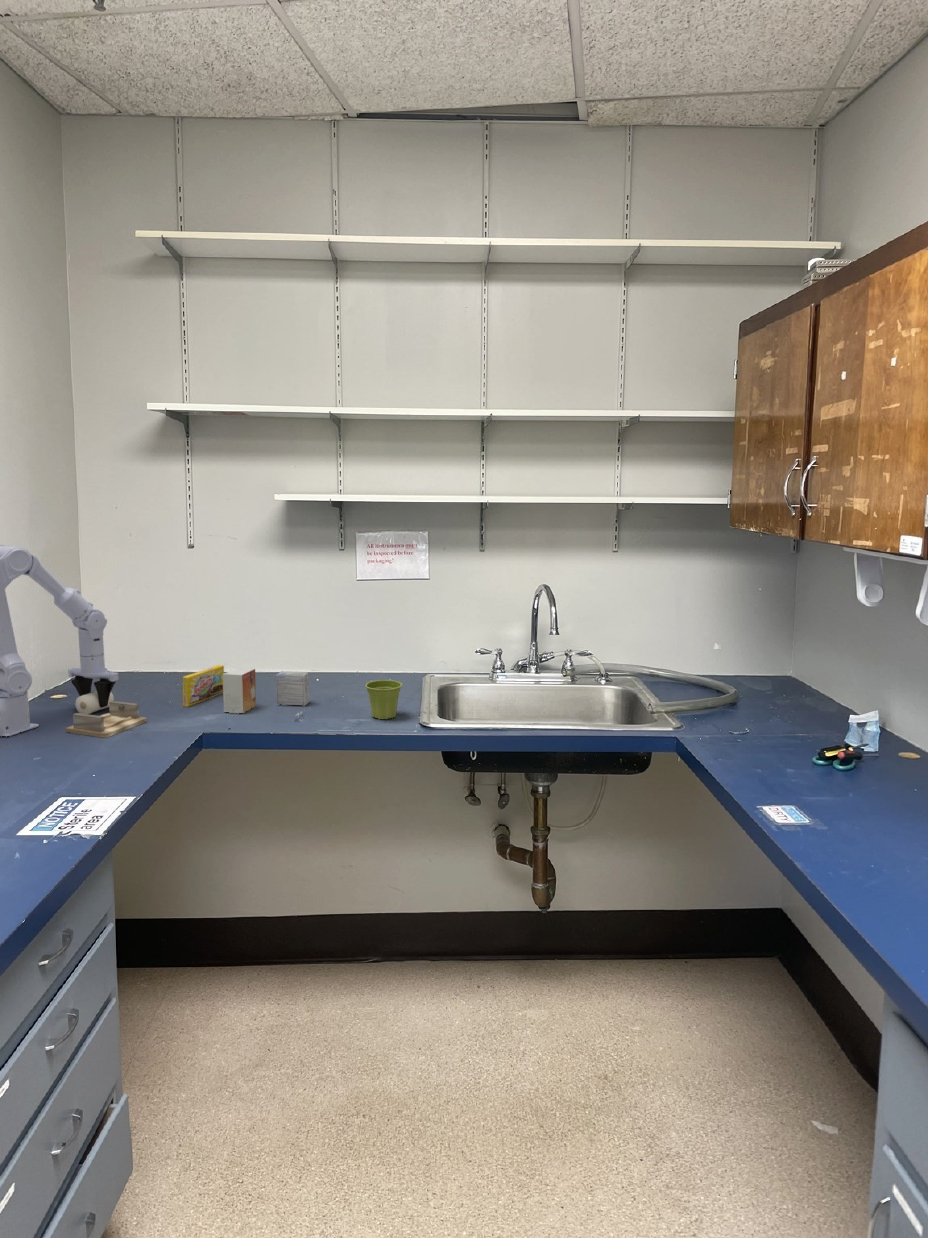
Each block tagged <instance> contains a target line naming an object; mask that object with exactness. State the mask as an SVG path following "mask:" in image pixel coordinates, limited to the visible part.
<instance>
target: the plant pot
mask: <svg viewBox="0 0 928 1238" xmlns="http://www.w3.org/2000/svg"><path fill="white" fill-rule="evenodd" d="M402 687H403V683H402V682H400V681H396V680H391V679H380V680H373V681H368V682H366V684H365V688H366V690H367V693H368V699H369V704H370V711H371V716H373V717H372V718H374V717H375V718H378V719H377V720H380V719H386V720H388V719H391V718H392V719H394V718H396V716H397V709H398V702H399V695H400V692H401V688H402ZM393 717H394V718H393ZM375 718H374V719H375Z"/></svg>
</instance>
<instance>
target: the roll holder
mask: <svg viewBox="0 0 928 1238" xmlns="http://www.w3.org/2000/svg"><path fill="white" fill-rule="evenodd" d="M139 707H140V706H139V703H134V702H133V703H132V702H126V701H118V700H114V701H111V702H109V707H108V708H109V709H108V710H109V712H107V713H104V714H102V715H95V714H81V713H79V712H76V713H73V714H72V720H73V722H72V724H73V725H71V726H70V725H69V726H68V727H65V733H68V732H70V733H69V734H78V735H82V736H91V737H97V738H105V739H107V738H110V737H111V736H115V735H117V734H120V733H122V732H125V731H127V730H130V729H133V728H135V727H138V726H139V725H143V724H145V723H148V717H142V716H140V711H139V710H140V709H139Z"/></svg>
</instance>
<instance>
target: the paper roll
mask: <svg viewBox="0 0 928 1238" xmlns="http://www.w3.org/2000/svg"><path fill="white" fill-rule="evenodd" d="M114 699H115V697H114V695H113V693H112V691H111V693H110V696H109V701H108V706H106V707H103V708H101V707H100V706H99V700H98V694H97V690H95V691H93V692H92V691H91V693H89V694H86V695H82V696H78V697H77V698H76V700H75V708H76V710H77V713H81V714H88V715H91V714H92V713H96V712H98V711H101V710H105V709H107V708H109V702H111V701H115V700H114Z"/></svg>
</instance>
